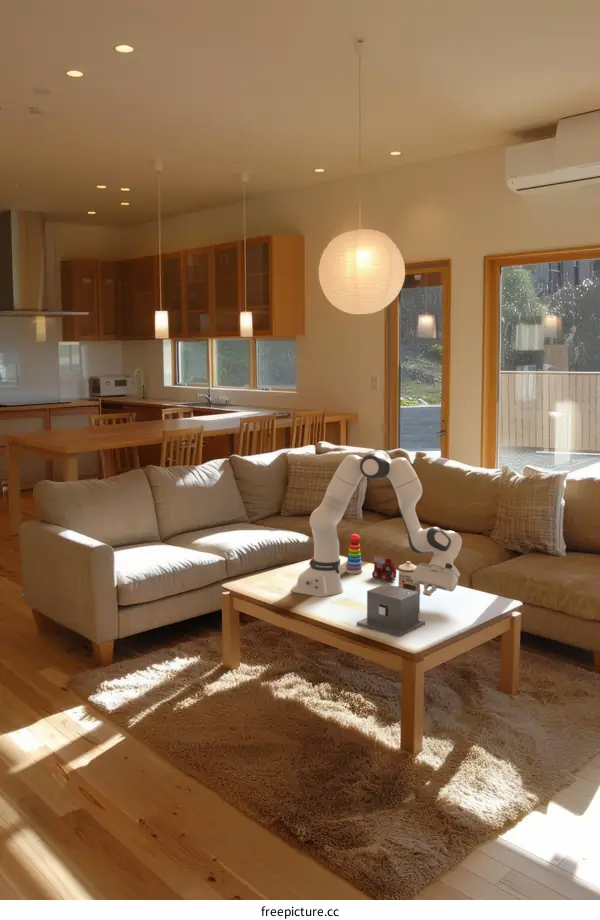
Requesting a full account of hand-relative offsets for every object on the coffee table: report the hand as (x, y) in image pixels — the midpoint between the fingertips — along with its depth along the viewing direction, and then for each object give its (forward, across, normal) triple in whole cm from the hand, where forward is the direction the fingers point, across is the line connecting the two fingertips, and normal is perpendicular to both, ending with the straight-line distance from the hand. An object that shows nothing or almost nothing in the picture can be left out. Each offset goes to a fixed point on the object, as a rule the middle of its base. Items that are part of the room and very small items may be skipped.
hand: (426, 594), depth 334 cm
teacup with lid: (-10, -21, +18) cm, 30 cm away
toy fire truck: (-11, -38, +20) cm, 44 cm away
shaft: (+17, 0, -11) cm, 20 cm away
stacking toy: (-10, -55, +19) cm, 59 cm away
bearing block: (+21, 0, -12) cm, 24 cm away
